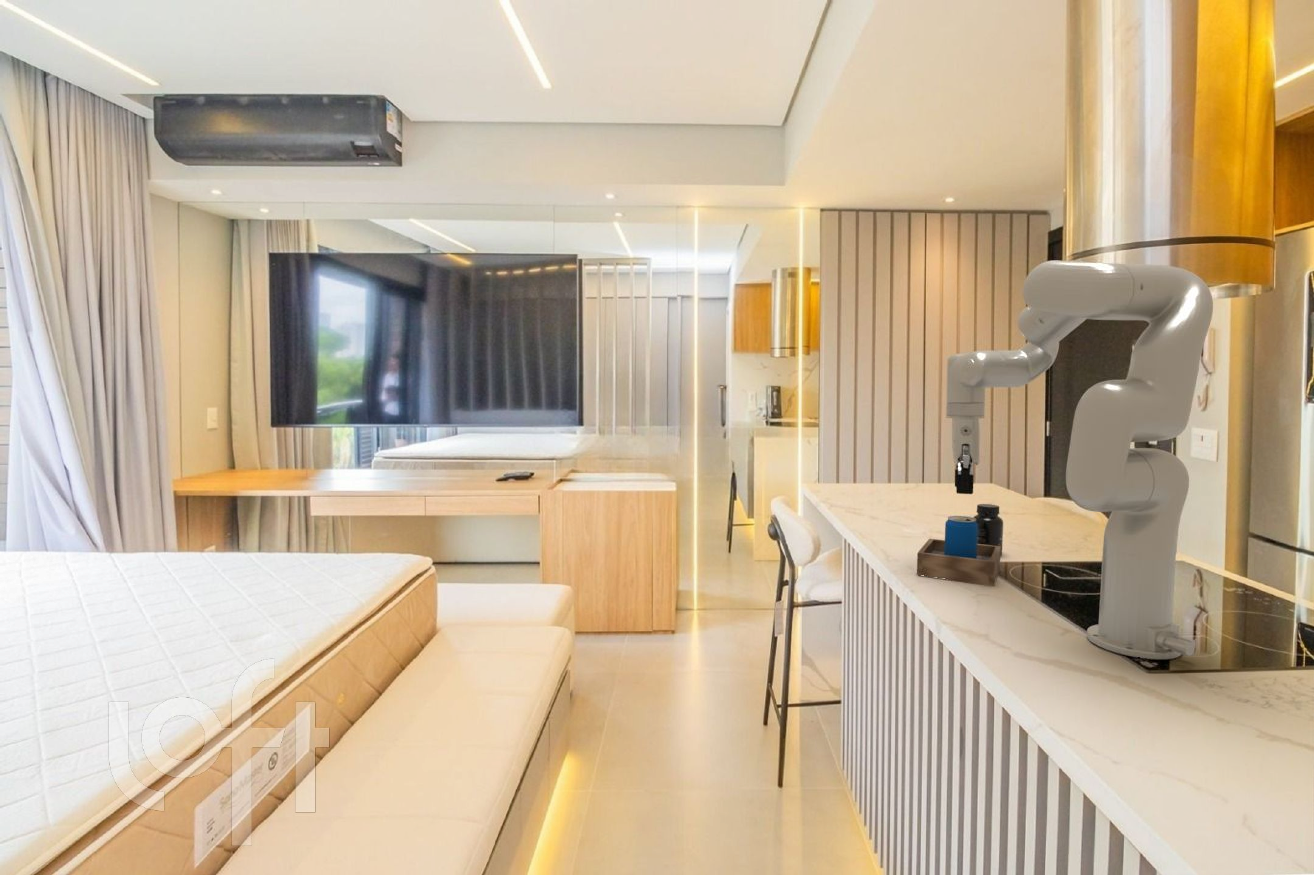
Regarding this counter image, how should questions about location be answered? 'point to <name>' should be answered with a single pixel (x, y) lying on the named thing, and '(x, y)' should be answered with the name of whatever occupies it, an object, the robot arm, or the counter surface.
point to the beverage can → (961, 537)
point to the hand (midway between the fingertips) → (963, 490)
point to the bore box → (959, 563)
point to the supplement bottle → (989, 525)
